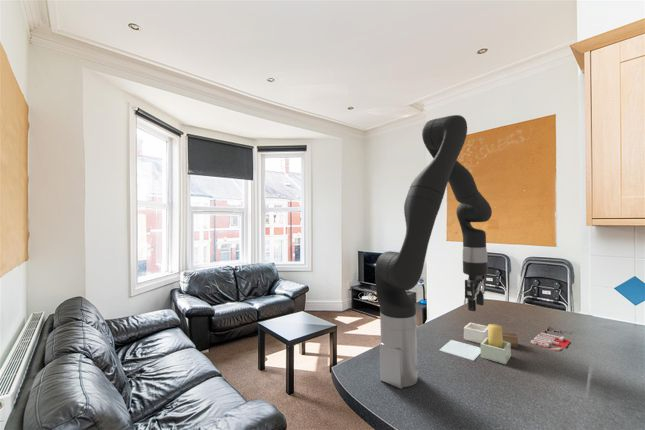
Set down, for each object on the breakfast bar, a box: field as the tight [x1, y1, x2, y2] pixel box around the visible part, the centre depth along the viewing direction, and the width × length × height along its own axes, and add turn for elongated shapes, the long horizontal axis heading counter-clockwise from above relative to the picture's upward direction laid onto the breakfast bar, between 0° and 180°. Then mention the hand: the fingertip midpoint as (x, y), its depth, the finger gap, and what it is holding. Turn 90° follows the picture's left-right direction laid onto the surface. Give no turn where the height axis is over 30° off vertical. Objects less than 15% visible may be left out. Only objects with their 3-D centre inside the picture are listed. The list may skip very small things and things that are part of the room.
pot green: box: [479, 337, 512, 365], centre depth 86 cm, size 6×6×4 cm
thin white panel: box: [439, 339, 481, 362], centre depth 91 cm, size 10×10×1 cm
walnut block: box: [502, 330, 519, 349], centre depth 94 cm, size 4×4×4 cm
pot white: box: [463, 322, 488, 344], centre depth 99 cm, size 6×6×4 cm
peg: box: [487, 323, 503, 349], centre depth 86 cm, size 4×4×9 cm
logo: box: [530, 325, 572, 352], centre depth 99 cm, size 25×2×10 cm
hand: (476, 307), depth 99 cm, fingers open, 8 cm apart
